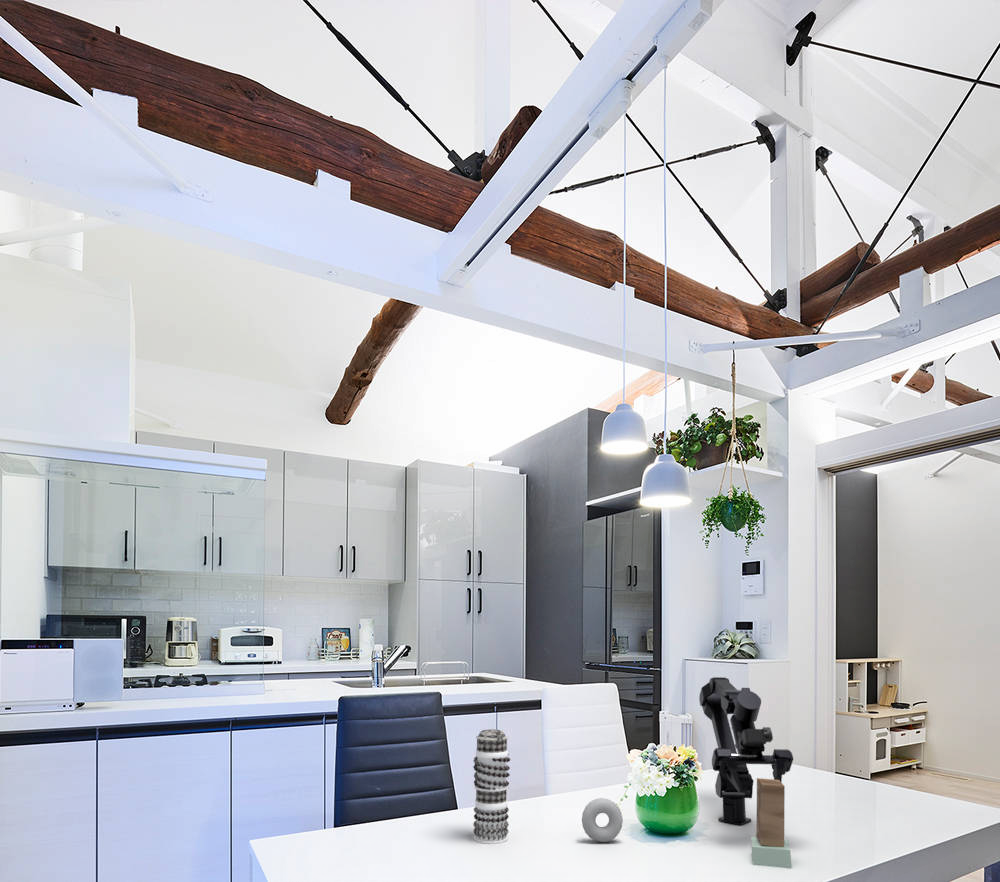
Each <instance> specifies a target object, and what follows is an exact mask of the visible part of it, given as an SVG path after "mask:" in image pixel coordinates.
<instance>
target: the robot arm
mask: <svg viewBox="0 0 1000 882" xmlns="http://www.w3.org/2000/svg"><path fill="white" fill-rule="evenodd" d="M698 698H699V705H700V707H702V711H703V714H704V715H705V716H706V717H707V718H708V719H709V720H710V721H711V723H712V729H713V733H714V736H715V739H716V745H717V747H715V748H714V750H713V752H712V757H711V768H712V770H713V772H718V773H717V775H716V776H717V777H716V781H715V785H714V786H715V787H714V789H715V794H716V796H717V797H718V798H720V799H722V814H723V815H722V816H721V817H719V818H718V821H720V822H724V823H727V824H733V825H738V826H742V825H745V824H747V823H749V822H752V818H750V817H747V816H746V815H747V813H746V799H752V798H753V789H754V787H753V786H754V779H753V777H752V774H751V773H750V770H749V769H748V765H770V766H771V768H772V776H773V779H774V780H780V782H781V783H783V781H782V780H783V776H784V775H786V773H789V772H790V771H791V768H792V764H793V761H794V755H793V752H792V751H791V750H790V749H788V748H787V749H785V748H783V749H778V748H777V749H776V748H775V749H773V753H772V755H771V754H770V755H769V754H767V755H766V754H765V755H764V753H763V752H765V750H766V748H765V745H766V744H767V743H771V742H772V741H773V740H774V739H773V738H774V736H773V731H772V729H771V727H770V726H768V727H766V726H765V727H764V726H763V727H762V728H756V725H755V722H756V721H758V720H757V719H758V716H759V713H760V708H761V704H762V698H761V697H760V696H759V695H758V694H757V693H756V692H754V691H751V688H750V687H741V689H737V688H736V687H735V686H734V685H733V684H732V683H731V682H730V680H729V678H727V677H725V676H724V677H718V676H717V677H716V676H713V677H710V678H709V682H707V683H706V684H705V685H703V686H702V687H701V688H700V692H699V696H698ZM728 715H731V716H730V718H728ZM729 719H730V720H729ZM729 721H730V722H729Z"/></svg>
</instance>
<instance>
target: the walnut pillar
mask: <svg viewBox="0 0 1000 882" xmlns="http://www.w3.org/2000/svg"><path fill="white" fill-rule="evenodd" d="M755 823H756V826H755V827H756V832H755V833H756V834H755V835H756V836H755V837H756V838H757V839H758V841H759V842H760V844H761V845H765V846H776V847H784V840H785V785H784V784H783V782H780V780H774V778H760V777H756V822H755Z"/></svg>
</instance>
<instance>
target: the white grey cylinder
mask: <svg viewBox="0 0 1000 882" xmlns="http://www.w3.org/2000/svg"><path fill="white" fill-rule="evenodd" d="M475 738H476V749H475V750H476V751H475V757H474V758H473V762H474V765H473V767H472V768H473V770H474V771H475V772H474V774H473V777H474V781H473V785H474V789H475V791H476V793H475V795H476V797H475V801H474V802H475V805H474V806H475V807H474V808H473V812H474V813H475V814H474V815H473V818H474V820H475V821H474V822H473V827H474V829H473V834H474V835H473V840H474V841H475V842H476V843H480V844H485V843H486V844H488V845H491V844H492V845H496V844H503V843H506V842H507V841H508V840H509V837H508V834H509V829H508V827H509V825H510V824H509V822H508V819H509V817H510V816H509V815H508V812H509V811H510V810H509V808H508V799H507V796H508V795H507V790H508V789H509V785H510V782H509V781H508V780H507V779H508V778H509V777H510V773H509V772H508V771H509V770H510V766H509V765H507V763H509V762H510V761H511V758H510V757H509V755H510V754H509V752H508V751H509V750H508V739H509V737H508V736H507V735H506V734H505V732H504V731H503V730H501V729H493V728H492V729H483V730H481V731H480V732H479V733H478V735H476V737H475ZM505 841H506V842H505ZM502 842H503V843H502Z"/></svg>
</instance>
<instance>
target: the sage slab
mask: <svg viewBox="0 0 1000 882" xmlns="http://www.w3.org/2000/svg"><path fill="white" fill-rule="evenodd" d="M750 842H751V845H750V846H751V858H752V865H753V866H762V867H763V866H764V867H771V868H772V867H774V868H783V869H792V858H791V856H792V855H791V847H790V844H789V841H788V839H784V847H776V846H765V845H761V844H760V842H759V841H758V839H757V838H756V836H751V837H750Z"/></svg>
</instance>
